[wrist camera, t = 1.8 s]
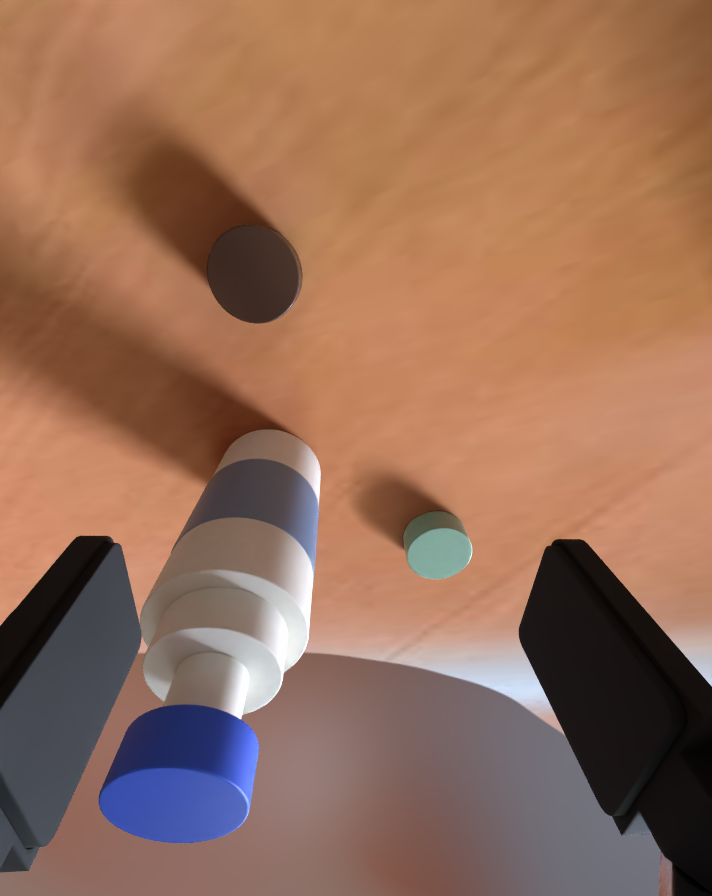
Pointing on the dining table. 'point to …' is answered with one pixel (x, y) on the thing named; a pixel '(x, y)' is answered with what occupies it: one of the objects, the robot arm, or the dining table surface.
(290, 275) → the brown disc
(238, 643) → the cream bottle
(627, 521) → the dining table surface
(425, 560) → the sage cylinder
